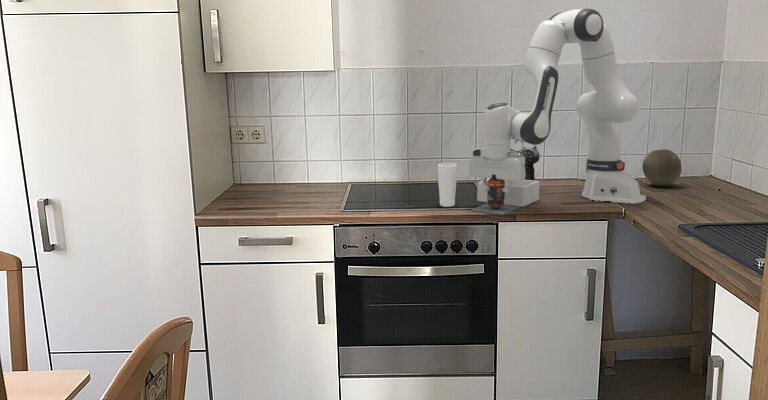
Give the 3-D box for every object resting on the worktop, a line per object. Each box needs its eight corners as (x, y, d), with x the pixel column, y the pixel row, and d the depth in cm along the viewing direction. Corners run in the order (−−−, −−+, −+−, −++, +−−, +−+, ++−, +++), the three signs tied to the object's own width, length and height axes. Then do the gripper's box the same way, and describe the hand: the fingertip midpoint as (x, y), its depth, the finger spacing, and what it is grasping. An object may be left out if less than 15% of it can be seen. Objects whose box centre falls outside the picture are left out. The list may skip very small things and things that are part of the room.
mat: (518, 208, 215) (518, 207, 215) (503, 215, 206) (503, 214, 206) (488, 204, 222) (488, 203, 222) (471, 210, 213) (471, 209, 213)
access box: (538, 199, 229) (539, 181, 227) (522, 206, 218) (523, 187, 216) (495, 194, 239) (495, 176, 238) (477, 200, 228) (477, 182, 227)
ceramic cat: (539, 190, 246) (541, 140, 241) (532, 193, 240) (534, 142, 236) (493, 185, 257) (494, 137, 253) (486, 188, 252) (487, 139, 248)
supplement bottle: (507, 205, 214) (508, 173, 212) (498, 208, 210) (499, 175, 207) (493, 203, 218) (494, 171, 216) (483, 206, 214) (484, 173, 211)
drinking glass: (455, 208, 217) (456, 165, 214) (436, 207, 219) (436, 165, 216) (457, 203, 224) (457, 162, 221) (438, 203, 225) (439, 162, 222)
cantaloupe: (650, 182, 259) (653, 146, 256) (685, 186, 249) (688, 149, 246) (635, 186, 250) (637, 149, 247) (670, 191, 240) (673, 153, 236)
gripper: (529, 152, 206) (528, 193, 209) (475, 148, 218) (474, 186, 221) (521, 154, 201) (519, 196, 204) (466, 150, 214) (465, 189, 217)
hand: (496, 191), depth 213 cm, fingers closed on supplement bottle, 6 cm apart
